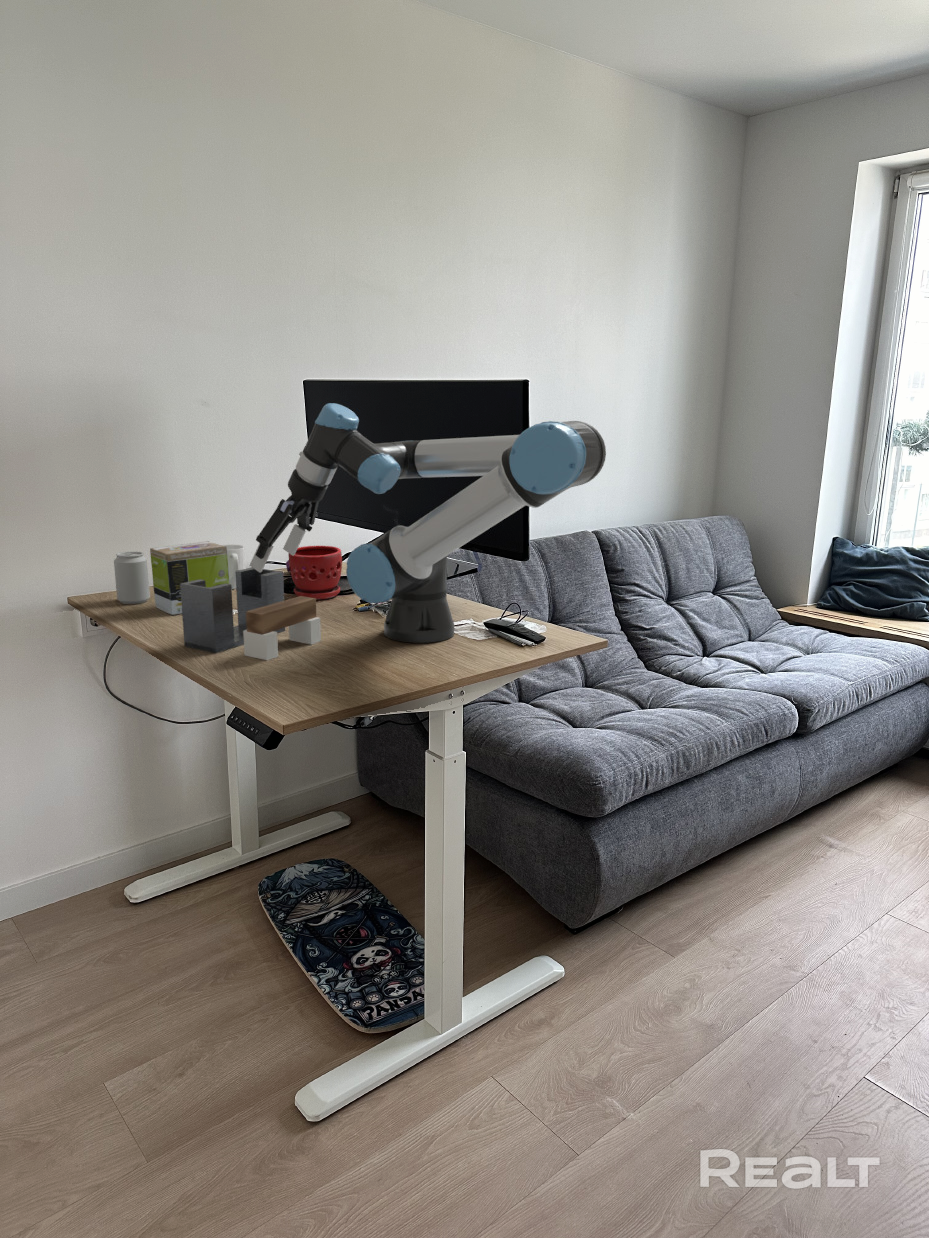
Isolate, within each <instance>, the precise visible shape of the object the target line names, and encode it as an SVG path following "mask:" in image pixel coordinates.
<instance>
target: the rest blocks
mask: <svg viewBox="0 0 929 1238" xmlns="http://www.w3.org/2000/svg"><path fill="white" fill-rule="evenodd" d="M321 631H322V629H321V617H318V616H316V618H313V619H309V620H306V621H303V622H300V623H297V624H294V625H291V626H288V641H293V642H297V643H302V644H307V645H314V644H316V643H320V642H321V641H322V636H321V635H322V633H321ZM243 636H244V644H243V649H244V651H243V652H244V656H246V657H251V658H254V659H259V660H263V661H264V660H265V661H270V660H272V659H275V658H278V657H279V648H278V647H279V646H278V633H277V632H275V631H272V632H269V633H266V634H263V635H261V634H256V633H251V632H247V630H244V631H243Z"/></svg>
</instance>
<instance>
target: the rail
mask: <svg viewBox="0 0 929 1238" xmlns="http://www.w3.org/2000/svg"><path fill="white" fill-rule="evenodd" d="M316 617H317V600H316V598H310V597H304V596H299V597H298V596H296V597H292V598H289V599H286V600H285V599H284V601H282V602H278V603H275V604H271V605H268V606H264V607H261V608H257V609H254V610H250V611H247V612H246V621H247V632H251V633H256V634H261V635H263V634H266V633H269V632H272V631H276V630H279V629H282V628H285V629H286V628H289V626H291V625H294V624H297V623H300V622H303V621H306V620H309V619H313V618H316Z"/></svg>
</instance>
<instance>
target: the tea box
mask: <svg viewBox="0 0 929 1238" xmlns="http://www.w3.org/2000/svg"><path fill="white" fill-rule="evenodd" d="M222 545H223V544H219V543H215V542H210V541H208V540H207V541H199V542H192V543H191V542H190V543H184V544H175V545H166V546H157V547H151V548H150V550H149V553H150V555H149V556H150V562H151V563H150V564H151V575H152V584H153V595H154V596H153V597H154V602H155V603H154V605H155V607H156V608H157V610H161V611H162V612H165V613H167V614H169V615H172V616H173V615H174V616H175V615H180V614H181V615H182V603H181V589H180V584H181V583H185V582H190V581H194V580H199V579H201V580H205V583H206V587H208V588H209V587H213V586H217V585H222V584H230V582H229V570H228V558H227V547H226V546H222Z"/></svg>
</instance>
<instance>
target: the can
mask: <svg viewBox="0 0 929 1238" xmlns="http://www.w3.org/2000/svg"><path fill="white" fill-rule="evenodd" d="M115 556H116V558H114V559H113V567H114V578H115V588H116V589H115V590H116V599H117V601H119V602H120V603H121V604H124V605H138V604H139V605H140V604H143V603H146V602H147V600H149V599H150V597H151V593H150V581H149V570H148V569H149V568H148V558H147V557H145V556H144V552H142V551H123V552H118V553H116V555H115Z"/></svg>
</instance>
